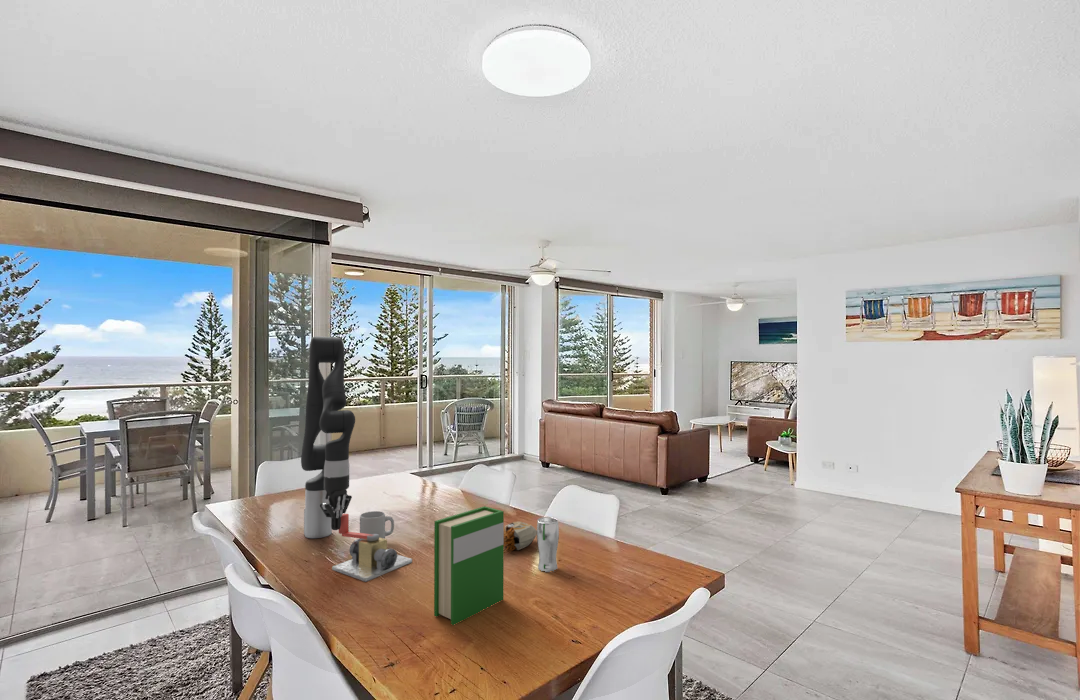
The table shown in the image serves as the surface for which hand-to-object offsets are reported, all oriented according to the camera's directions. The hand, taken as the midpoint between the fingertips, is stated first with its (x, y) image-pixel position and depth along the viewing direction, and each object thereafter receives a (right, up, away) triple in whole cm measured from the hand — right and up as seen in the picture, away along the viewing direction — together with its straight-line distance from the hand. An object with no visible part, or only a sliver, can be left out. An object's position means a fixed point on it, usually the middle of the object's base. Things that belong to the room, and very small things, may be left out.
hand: (335, 529), depth 165 cm
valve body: (+11, -12, +1) cm, 16 cm away
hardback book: (+46, -12, -27) cm, 55 cm away
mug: (+7, -12, +19) cm, 24 cm away
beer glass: (+67, -12, -1) cm, 68 cm away
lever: (+6, -3, +2) cm, 8 cm away
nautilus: (+54, -12, +17) cm, 58 cm away
